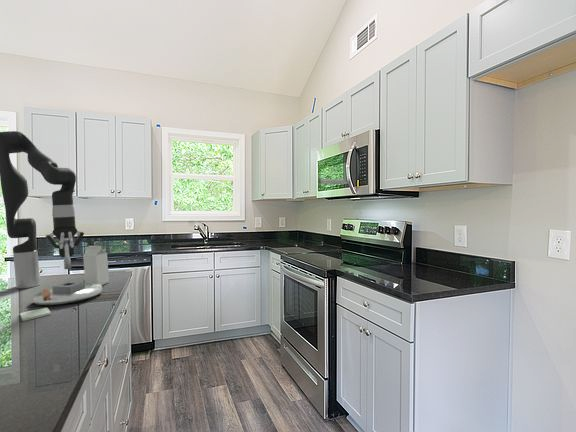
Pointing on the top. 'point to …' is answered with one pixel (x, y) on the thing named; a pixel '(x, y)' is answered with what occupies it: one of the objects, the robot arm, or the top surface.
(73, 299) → the light grey disc
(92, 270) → the milk carton
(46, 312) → the pad
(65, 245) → the metal pin
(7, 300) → the top surface
